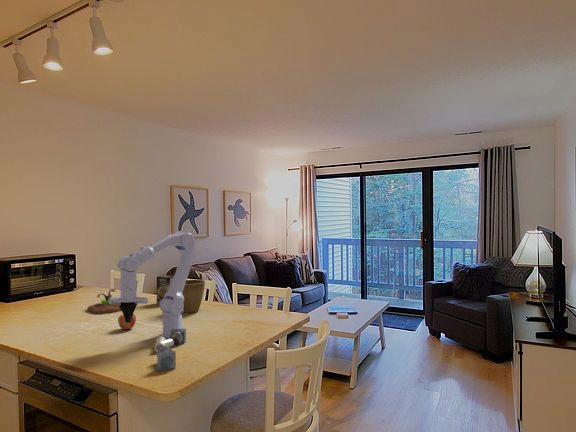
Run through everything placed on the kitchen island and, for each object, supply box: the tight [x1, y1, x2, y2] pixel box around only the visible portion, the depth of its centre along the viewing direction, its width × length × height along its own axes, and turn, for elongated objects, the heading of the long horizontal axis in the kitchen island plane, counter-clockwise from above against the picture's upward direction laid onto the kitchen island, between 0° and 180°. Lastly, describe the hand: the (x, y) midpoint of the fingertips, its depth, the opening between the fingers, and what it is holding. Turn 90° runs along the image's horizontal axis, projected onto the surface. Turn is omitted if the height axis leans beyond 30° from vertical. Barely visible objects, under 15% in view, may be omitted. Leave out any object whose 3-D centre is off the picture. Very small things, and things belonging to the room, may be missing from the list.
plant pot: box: [182, 279, 206, 314], centre depth 200 cm, size 15×15×16 cm
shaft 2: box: [168, 328, 187, 346], centre depth 148 cm, size 4×6×5 cm
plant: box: [86, 288, 122, 315], centre depth 206 cm, size 20×20×11 cm
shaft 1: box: [156, 346, 177, 372], centre depth 126 cm, size 8×6×5 cm
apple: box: [117, 313, 137, 331], centre depth 167 cm, size 7×7×8 cm
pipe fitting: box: [154, 336, 175, 353], centre depth 142 cm, size 8×4×7 cm
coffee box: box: [156, 275, 175, 305], centre depth 218 cm, size 9×6×16 cm
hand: (128, 321), depth 145 cm, fingers closed
